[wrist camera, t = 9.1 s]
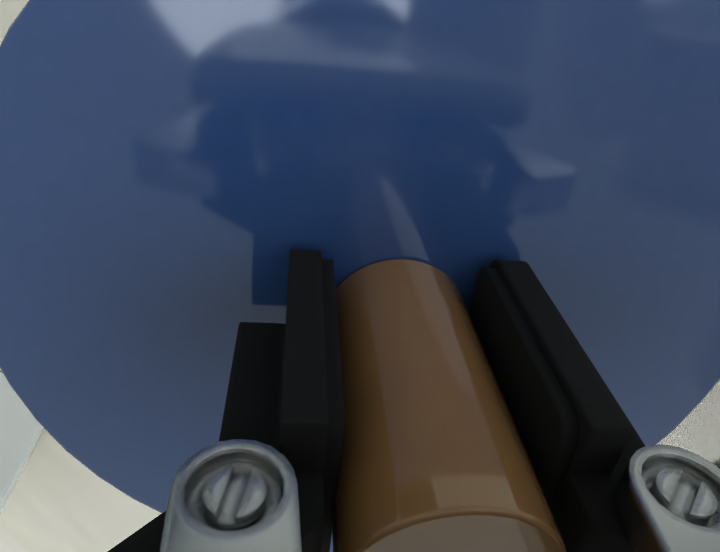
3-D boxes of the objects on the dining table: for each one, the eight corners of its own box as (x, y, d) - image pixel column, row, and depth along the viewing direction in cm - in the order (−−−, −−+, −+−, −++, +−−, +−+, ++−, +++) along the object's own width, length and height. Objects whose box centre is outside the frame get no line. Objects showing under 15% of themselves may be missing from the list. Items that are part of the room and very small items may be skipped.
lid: (923, -101, 9) (1882, -138, 3) (607, 512, 16) (751, 796, 11) (-134, -255, 7) (-1564, -831, 2) (64, 513, 14) (-74, 852, 9)
